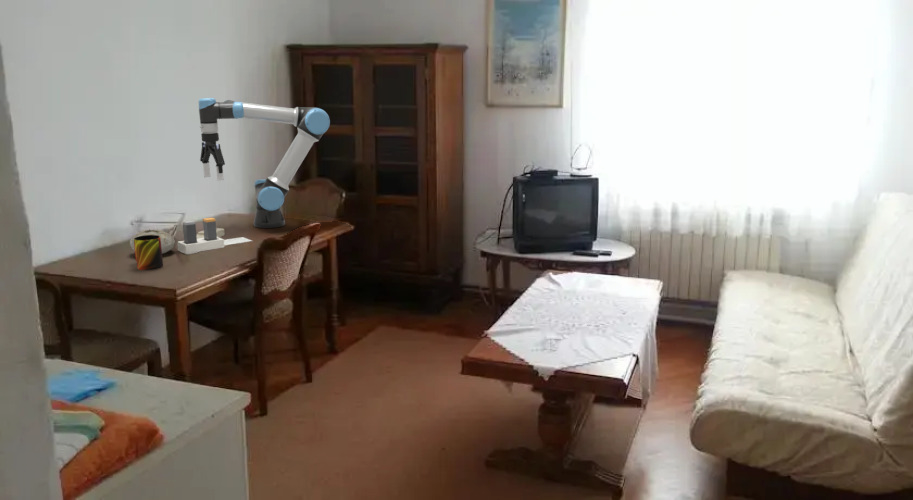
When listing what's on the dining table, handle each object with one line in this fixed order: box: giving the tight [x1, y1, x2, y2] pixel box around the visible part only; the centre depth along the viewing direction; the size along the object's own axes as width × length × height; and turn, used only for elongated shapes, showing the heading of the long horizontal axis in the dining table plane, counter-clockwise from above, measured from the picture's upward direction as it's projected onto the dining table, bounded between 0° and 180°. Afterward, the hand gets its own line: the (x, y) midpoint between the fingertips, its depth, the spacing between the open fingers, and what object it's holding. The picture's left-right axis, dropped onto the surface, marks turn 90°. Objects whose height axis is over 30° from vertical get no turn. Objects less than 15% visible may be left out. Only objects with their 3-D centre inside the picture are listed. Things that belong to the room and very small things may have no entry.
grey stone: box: [129, 228, 176, 255], centre depth 330 cm, size 18×18×10 cm
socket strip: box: [177, 220, 225, 256], centre depth 336 cm, size 17×9×13 cm, turn 131°
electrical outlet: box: [196, 227, 226, 239], centre depth 356 cm, size 7×4×18 cm
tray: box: [224, 236, 253, 246], centre depth 351 cm, size 14×10×1 cm
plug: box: [202, 217, 217, 241], centre depth 339 cm, size 4×4×11 cm
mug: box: [134, 235, 164, 271], centre depth 309 cm, size 10×14×12 cm
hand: (213, 178), depth 361 cm, fingers open, 13 cm apart
